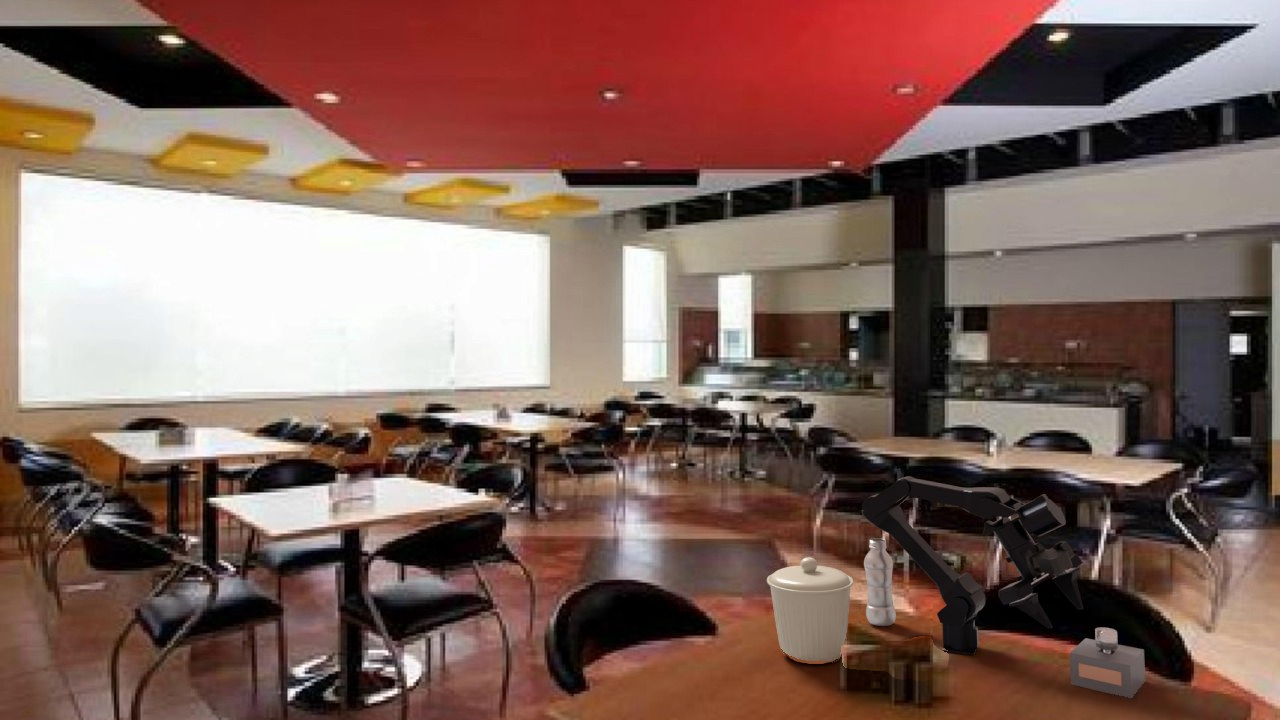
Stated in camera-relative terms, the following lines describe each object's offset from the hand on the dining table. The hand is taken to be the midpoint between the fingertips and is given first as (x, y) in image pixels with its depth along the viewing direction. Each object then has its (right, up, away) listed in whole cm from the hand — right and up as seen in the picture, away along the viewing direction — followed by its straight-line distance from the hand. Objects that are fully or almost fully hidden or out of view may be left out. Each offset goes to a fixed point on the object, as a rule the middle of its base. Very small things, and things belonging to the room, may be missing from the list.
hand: (1065, 618), depth 157 cm
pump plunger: (+5, -9, -6) cm, 12 cm away
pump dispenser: (+5, -10, -6) cm, 13 cm away
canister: (-47, -13, +13) cm, 50 cm away
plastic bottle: (-27, -12, +31) cm, 43 cm away
